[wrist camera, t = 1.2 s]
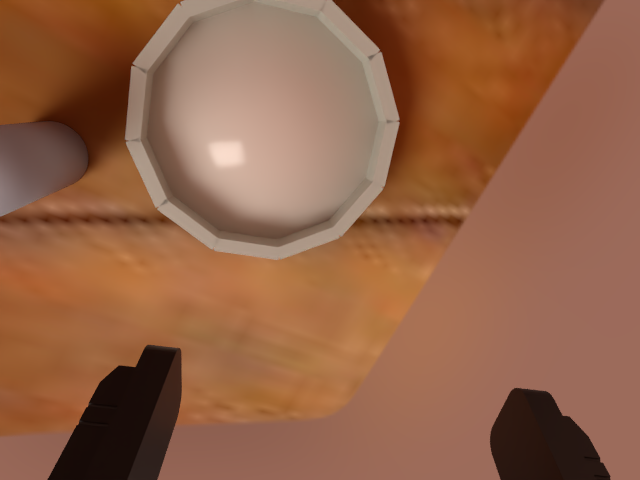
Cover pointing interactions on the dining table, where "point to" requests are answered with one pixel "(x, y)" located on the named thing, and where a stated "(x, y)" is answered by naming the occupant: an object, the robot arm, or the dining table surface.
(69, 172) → the grey peg
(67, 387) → the dining table surface
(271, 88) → the round tray
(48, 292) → the dining table surface
